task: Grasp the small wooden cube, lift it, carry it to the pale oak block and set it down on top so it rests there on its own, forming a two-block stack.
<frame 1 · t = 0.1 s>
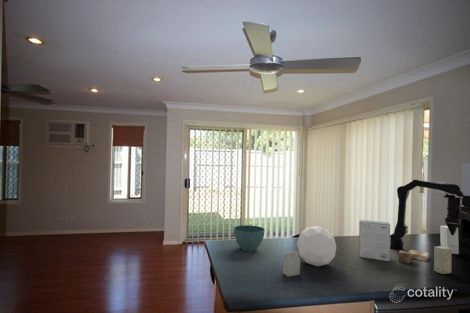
hand: (453, 233, 158), 15 cm above the kitchen counter, fingers open, 9 cm apart
hard drive box: (373, 257, 157), on the kitchen counter
plant pot: (248, 249, 164), on the kitchen counter
grey upright block: (291, 274, 129), on the kitchen counter
skincare box: (442, 272, 138), on the kitchen counter
ball: (315, 264, 143), on the kitchen counter
wooden cube: (404, 261, 152), on the kitchen counter
skincare box 2: (448, 252, 173), on the kitchen counter
oak block: (417, 258, 160), on the kitchen counter
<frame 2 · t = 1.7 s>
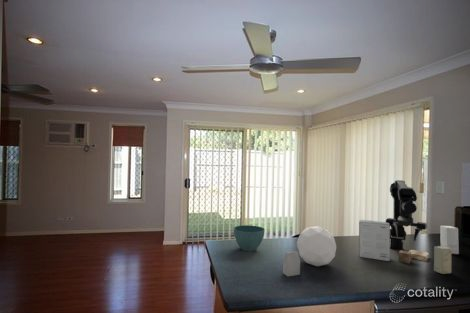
hand: (405, 239, 153), 12 cm above the kitchen counter, fingers open, 8 cm apart
nothing on the kitchen counter moved.
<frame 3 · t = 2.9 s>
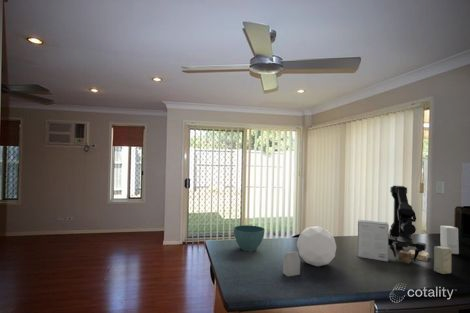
hand: (404, 259, 152), 1 cm above the kitchen counter, fingers open, 9 cm apart
hard drive box: (372, 257, 157), on the kitchen counter, touching gripper
everything else where it was.
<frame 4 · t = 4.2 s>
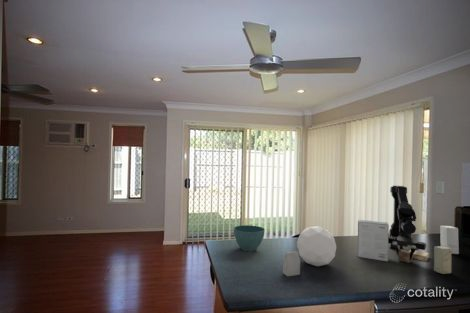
hand: (404, 258, 152), 1 cm above the kitchen counter, fingers closed on wooden cube, 5 cm apart
hard drive box: (372, 257, 157), on the kitchen counter
wooden cube: (404, 260, 152), on the kitchen counter, touching gripper
everything else where it was.
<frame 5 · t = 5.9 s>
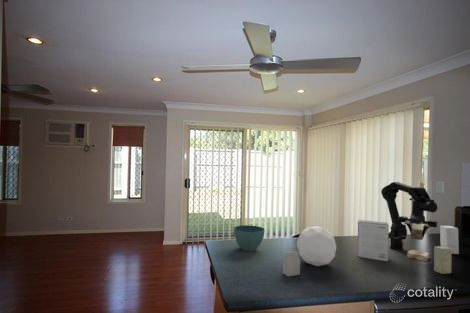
hand: (417, 236, 160), 12 cm above the kitchen counter, fingers closed on wooden cube, 5 cm apart
wooden cube: (417, 238, 160), point 11 cm above the kitchen counter, touching gripper
everything else where it was.
when the fingers open (5 cm above the kitchen counter, at t = 8.0 s): wooden cube drops 2 cm, point 2 cm above the kitchen counter.
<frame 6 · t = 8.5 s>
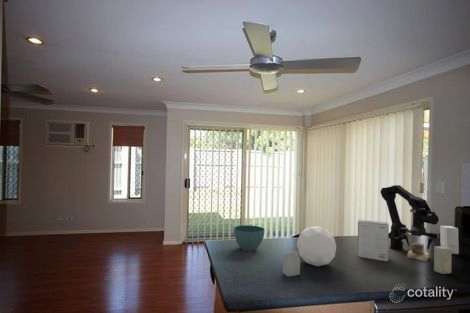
hand: (418, 248, 160), 5 cm above the kitchen counter, fingers open, 9 cm apart
wooden cube: (417, 252, 160), point 2 cm above the kitchen counter
everything else where it was.
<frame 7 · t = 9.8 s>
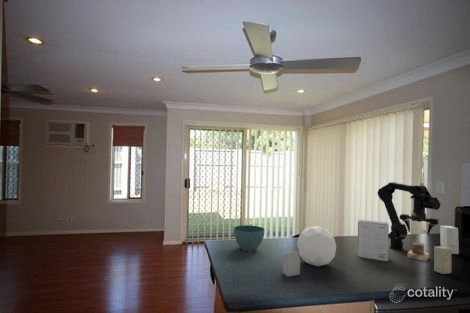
hand: (418, 233, 163), 13 cm above the kitchen counter, fingers open, 9 cm apart
nothing on the kitchen counter moved.
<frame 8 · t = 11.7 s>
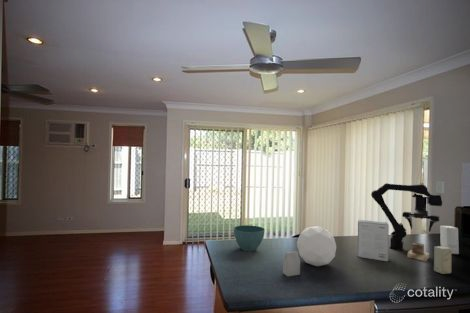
hand: (420, 230, 172), 13 cm above the kitchen counter, fingers open, 9 cm apart
wooden cube: (417, 252, 160), point 2 cm above the kitchen counter, touching oak block
oak block: (418, 258, 160), on the kitchen counter, touching wooden cube
everything else where it was.
at the end: wooden cube inside the target area on the oak block (0.1 cm from its centre), point 3.0 cm above the oak block's base; wooden cube tilted 0°; the gripper is holding nothing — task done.
